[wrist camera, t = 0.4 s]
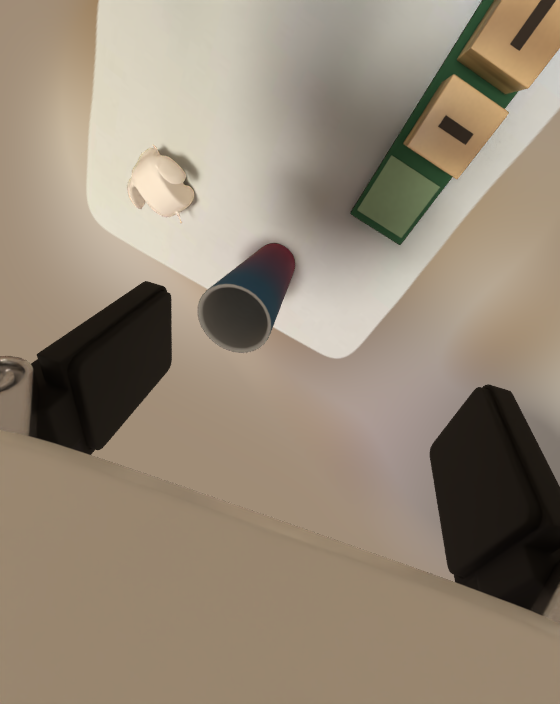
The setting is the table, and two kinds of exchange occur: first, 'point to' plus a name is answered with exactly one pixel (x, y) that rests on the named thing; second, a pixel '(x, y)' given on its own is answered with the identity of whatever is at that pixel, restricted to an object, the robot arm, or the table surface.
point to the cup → (247, 300)
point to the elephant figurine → (159, 184)
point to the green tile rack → (460, 110)
